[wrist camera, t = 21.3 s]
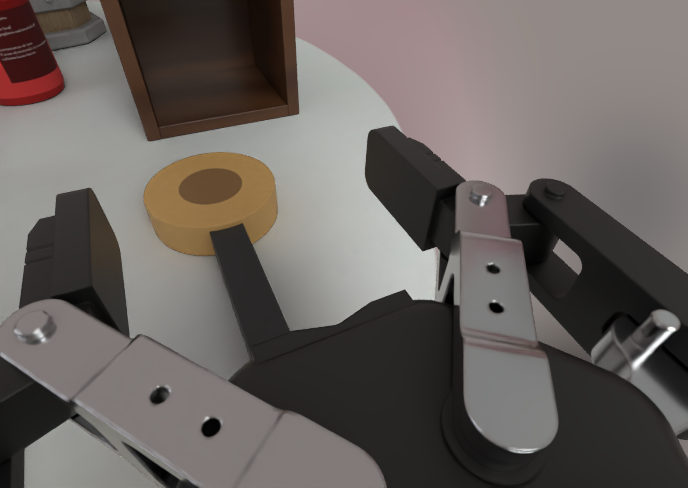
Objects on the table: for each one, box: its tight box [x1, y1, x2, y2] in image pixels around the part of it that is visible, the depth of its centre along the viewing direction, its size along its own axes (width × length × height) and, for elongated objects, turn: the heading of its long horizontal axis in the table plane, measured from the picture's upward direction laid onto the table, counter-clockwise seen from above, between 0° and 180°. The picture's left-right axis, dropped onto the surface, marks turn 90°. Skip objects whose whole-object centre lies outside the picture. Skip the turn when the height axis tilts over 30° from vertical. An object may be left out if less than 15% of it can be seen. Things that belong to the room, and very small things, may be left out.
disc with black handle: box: [144, 152, 290, 360], centre depth 26 cm, size 20×9×3 cm, turn 25°
